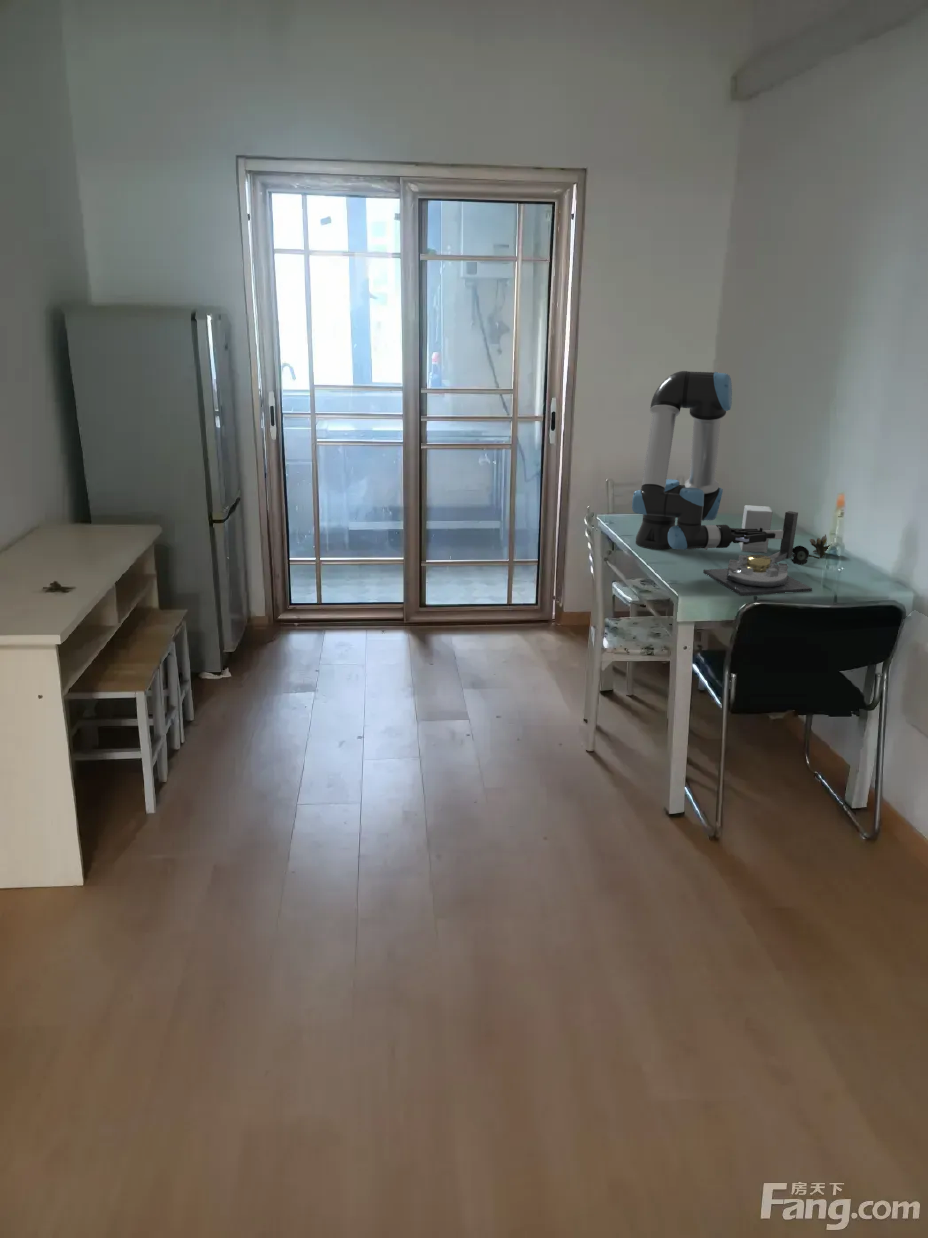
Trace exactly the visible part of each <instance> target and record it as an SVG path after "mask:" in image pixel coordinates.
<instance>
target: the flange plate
mask: <svg viewBox="0 0 928 1238" xmlns="http://www.w3.org/2000/svg"><path fill="white" fill-rule="evenodd" d="M747 556H748V557H747V564H746V566H748V567H753V570H754V571H766V569H769V568H770V561H771V558H770V557H768V556H769V555H768V556H767V555H764V554H748V555H747ZM727 571H728V568H715V569H713V568H711V569H703V574H705V575H706V574H707V575H706V576H708V575H709V576H708V577H710V578H711V579H713V580H714V581H716V582H717V583H719V582H720V585H721V584H722V586H724V587H726V588H728V589H729V590H731V591H732V590H733V591H732V592H734V593H735V594H738V595H739V596H740V597H742V596H759V595H760V596H761V595H775V594H776V593H777V594H786V593H785V592H793V593H805V592H806V593H807V592H808V593H809V592H812V591H813V588H812V587H810V586H808V585H806V584H805V583H803V582H801V581H799V580H796V579H795V578H793V577H791V576H789V575H787V580H786V583H785V584H783V585H779V586H771V587H762V586H752V585H746V584H742V583H738V582H735V581H733V580H731V579H729V578H728V577H727Z"/></svg>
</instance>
